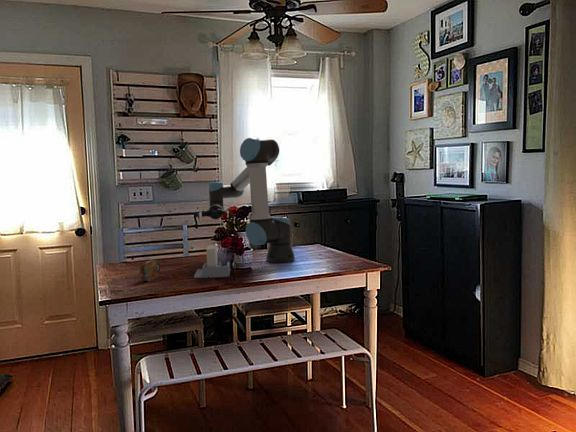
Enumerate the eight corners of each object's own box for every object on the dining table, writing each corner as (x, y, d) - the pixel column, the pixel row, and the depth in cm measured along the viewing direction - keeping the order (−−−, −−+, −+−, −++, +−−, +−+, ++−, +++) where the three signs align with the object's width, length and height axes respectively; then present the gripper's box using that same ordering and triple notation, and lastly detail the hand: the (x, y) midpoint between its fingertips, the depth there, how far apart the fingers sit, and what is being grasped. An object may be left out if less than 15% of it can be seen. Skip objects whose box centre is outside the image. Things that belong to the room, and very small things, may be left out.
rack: (230, 269, 243) (230, 259, 243) (229, 276, 227) (228, 266, 227) (197, 270, 242) (197, 261, 241) (193, 278, 226) (193, 267, 225)
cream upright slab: (217, 269, 241) (216, 244, 239) (216, 274, 229) (215, 249, 227) (209, 269, 240) (208, 245, 239) (207, 274, 228) (206, 249, 227)
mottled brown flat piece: (145, 283, 219) (144, 264, 218) (139, 283, 219) (138, 264, 219) (161, 275, 233) (160, 258, 233) (154, 275, 234) (153, 257, 233)
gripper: (239, 217, 265) (239, 222, 244) (192, 219, 263) (188, 224, 242) (239, 203, 265) (238, 207, 244) (191, 205, 262) (187, 208, 241)
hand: (213, 215), depth 243 cm, fingers open, 13 cm apart
